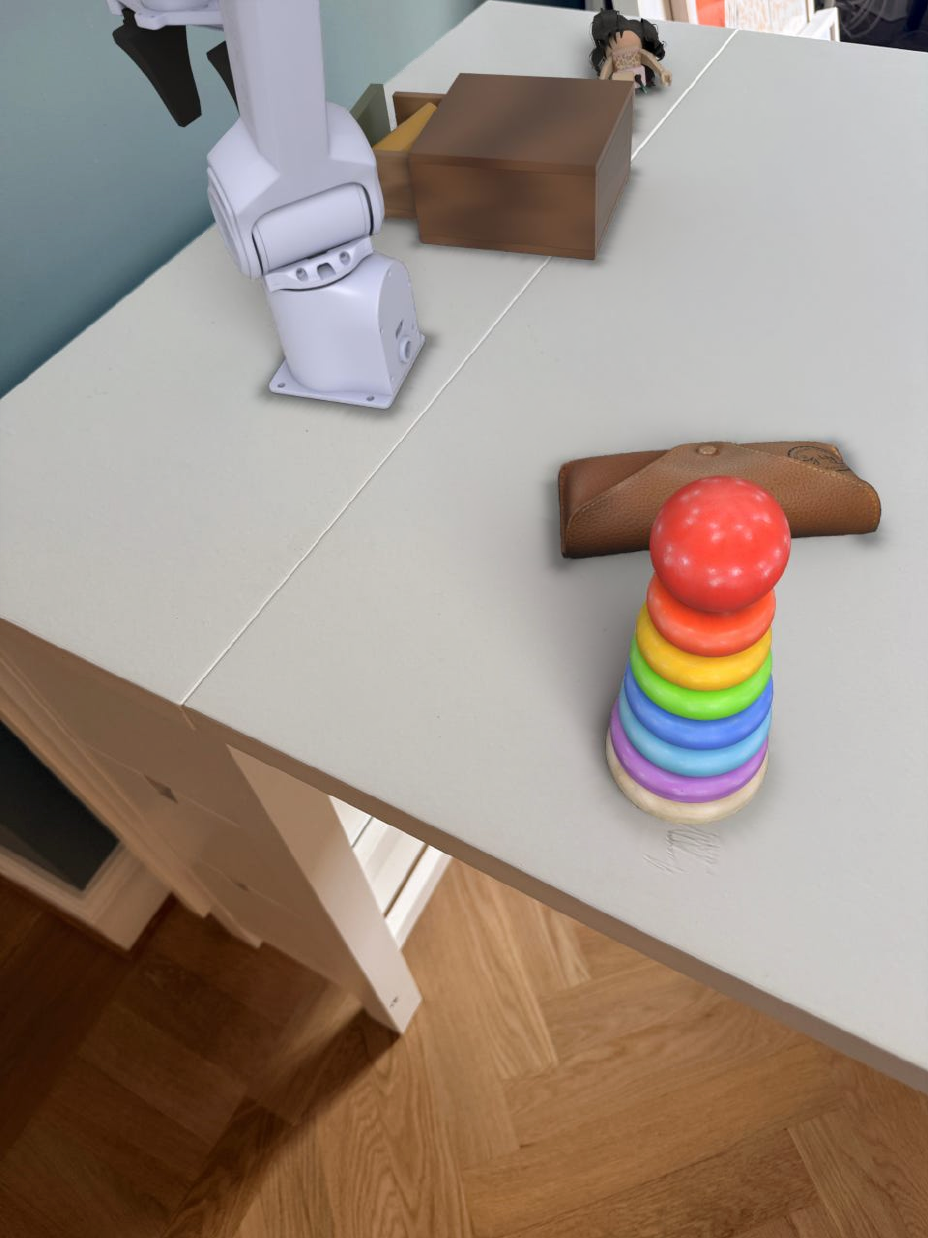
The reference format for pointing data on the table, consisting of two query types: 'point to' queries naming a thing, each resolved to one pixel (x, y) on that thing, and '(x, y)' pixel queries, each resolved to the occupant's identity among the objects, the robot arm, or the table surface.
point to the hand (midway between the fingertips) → (226, 130)
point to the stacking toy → (702, 655)
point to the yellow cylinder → (406, 131)
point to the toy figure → (627, 50)
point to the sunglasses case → (643, 481)
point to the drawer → (389, 163)
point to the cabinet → (523, 163)
